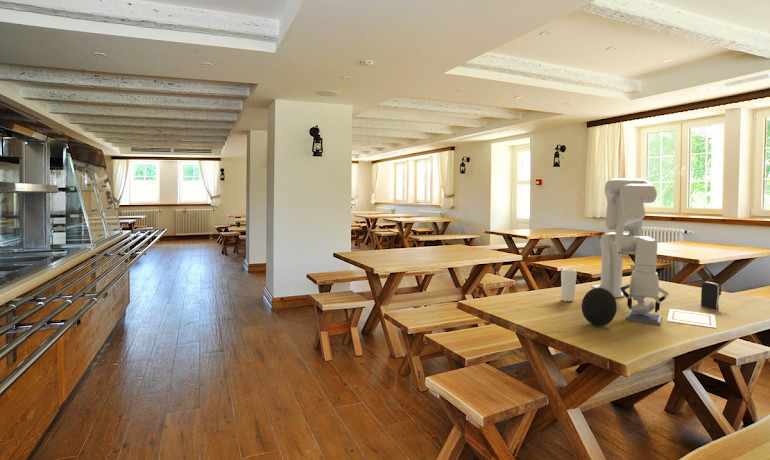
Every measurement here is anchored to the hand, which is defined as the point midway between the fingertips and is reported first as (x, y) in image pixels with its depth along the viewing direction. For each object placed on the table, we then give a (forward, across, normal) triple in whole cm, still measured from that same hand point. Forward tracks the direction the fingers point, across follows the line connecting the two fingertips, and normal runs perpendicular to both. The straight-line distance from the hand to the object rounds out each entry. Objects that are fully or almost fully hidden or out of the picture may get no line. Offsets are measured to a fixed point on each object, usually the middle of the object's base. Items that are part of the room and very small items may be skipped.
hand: (643, 309), depth 183 cm
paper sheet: (+4, +16, +14) cm, 22 cm away
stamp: (+2, +1, +1) cm, 2 cm away
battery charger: (+4, +23, +40) cm, 46 cm away
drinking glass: (+4, -33, +14) cm, 36 cm away
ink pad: (+4, 0, 0) cm, 4 cm away
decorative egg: (+4, -13, -20) cm, 24 cm away
